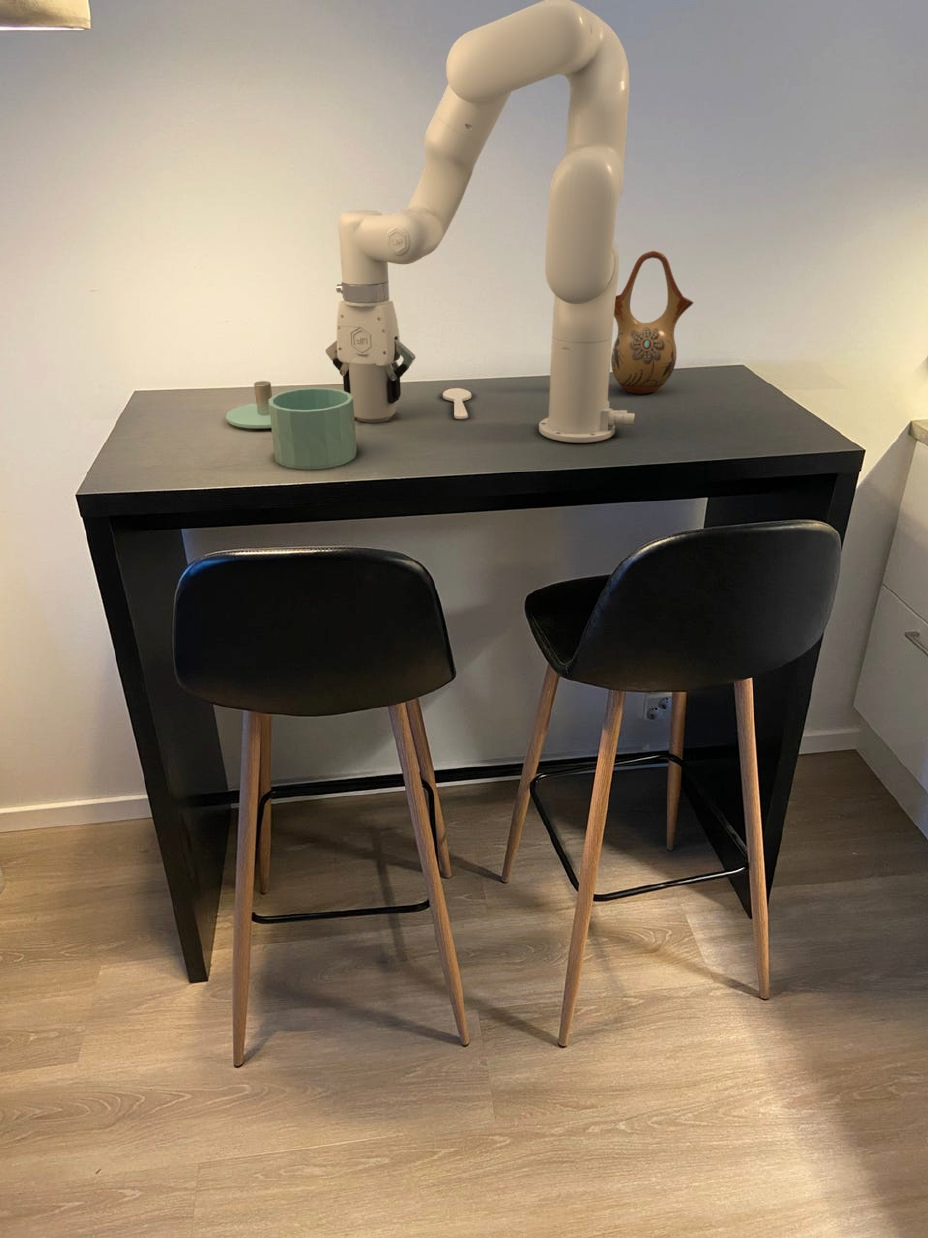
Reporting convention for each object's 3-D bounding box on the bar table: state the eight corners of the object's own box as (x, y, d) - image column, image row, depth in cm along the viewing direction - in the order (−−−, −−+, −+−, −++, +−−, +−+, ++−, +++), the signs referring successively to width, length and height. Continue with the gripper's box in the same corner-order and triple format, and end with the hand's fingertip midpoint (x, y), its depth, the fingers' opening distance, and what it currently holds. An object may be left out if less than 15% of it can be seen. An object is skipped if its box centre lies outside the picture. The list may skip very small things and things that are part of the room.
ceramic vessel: (677, 383, 177) (692, 246, 165) (689, 397, 170) (706, 253, 157) (593, 385, 177) (602, 247, 164) (602, 399, 169) (612, 255, 156)
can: (388, 424, 156) (384, 354, 150) (346, 422, 158) (341, 352, 152) (400, 412, 162) (396, 343, 157) (360, 410, 164) (355, 342, 158)
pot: (364, 444, 148) (361, 388, 143) (344, 471, 137) (339, 412, 132) (289, 441, 149) (284, 386, 145) (263, 467, 138) (256, 409, 134)
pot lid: (315, 409, 164) (312, 374, 161) (291, 433, 153) (288, 395, 150) (243, 406, 166) (238, 371, 163) (214, 430, 154) (209, 392, 151)
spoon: (446, 419, 158) (446, 416, 158) (441, 390, 174) (441, 387, 174) (476, 418, 159) (476, 415, 158) (469, 389, 174) (469, 387, 174)
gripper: (308, 294, 149) (318, 400, 158) (405, 300, 144) (409, 410, 153) (330, 286, 156) (338, 389, 164) (423, 292, 150) (427, 398, 159)
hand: (372, 398), depth 158 cm, fingers closed on can, 7 cm apart
